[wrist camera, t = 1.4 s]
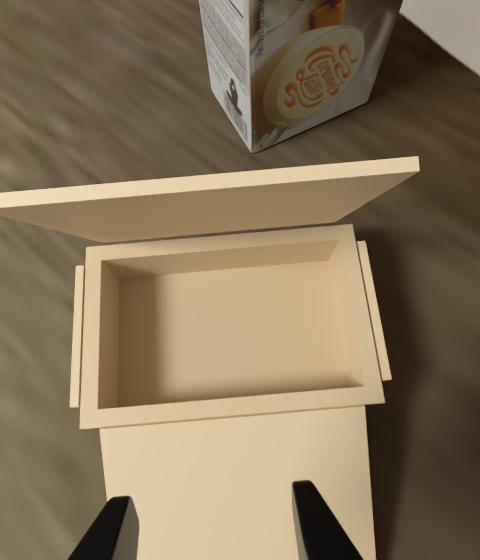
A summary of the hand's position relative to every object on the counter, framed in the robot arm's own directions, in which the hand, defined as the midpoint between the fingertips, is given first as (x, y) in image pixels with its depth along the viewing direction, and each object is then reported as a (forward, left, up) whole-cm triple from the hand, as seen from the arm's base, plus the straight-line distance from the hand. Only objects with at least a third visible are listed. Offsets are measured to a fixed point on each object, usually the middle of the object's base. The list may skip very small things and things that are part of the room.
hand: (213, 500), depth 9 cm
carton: (+1, -1, -14) cm, 14 cm away
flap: (+7, -6, -5) cm, 10 cm away
